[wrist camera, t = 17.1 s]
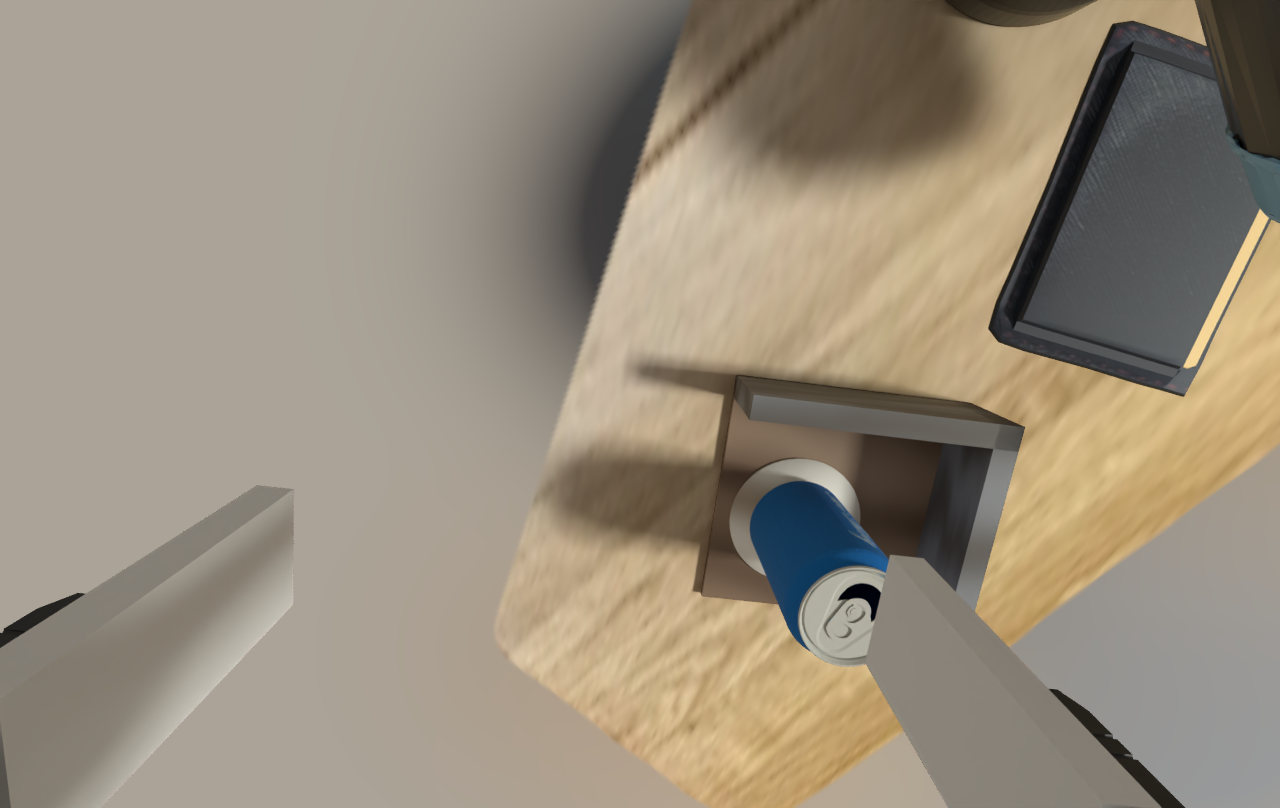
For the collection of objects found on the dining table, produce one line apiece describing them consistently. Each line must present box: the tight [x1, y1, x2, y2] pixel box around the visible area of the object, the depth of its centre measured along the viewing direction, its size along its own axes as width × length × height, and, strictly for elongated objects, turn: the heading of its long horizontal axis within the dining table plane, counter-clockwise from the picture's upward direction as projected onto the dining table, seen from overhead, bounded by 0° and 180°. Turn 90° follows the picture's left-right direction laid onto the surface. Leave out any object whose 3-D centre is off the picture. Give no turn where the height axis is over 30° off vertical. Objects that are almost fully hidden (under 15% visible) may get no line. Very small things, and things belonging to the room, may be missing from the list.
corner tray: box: [701, 375, 1025, 612], centre depth 42 cm, size 16×16×6 cm
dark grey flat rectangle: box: [989, 21, 1271, 397], centre depth 40 cm, size 20×2×15 cm
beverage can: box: [750, 481, 889, 667], centre depth 38 cm, size 6×6×12 cm
